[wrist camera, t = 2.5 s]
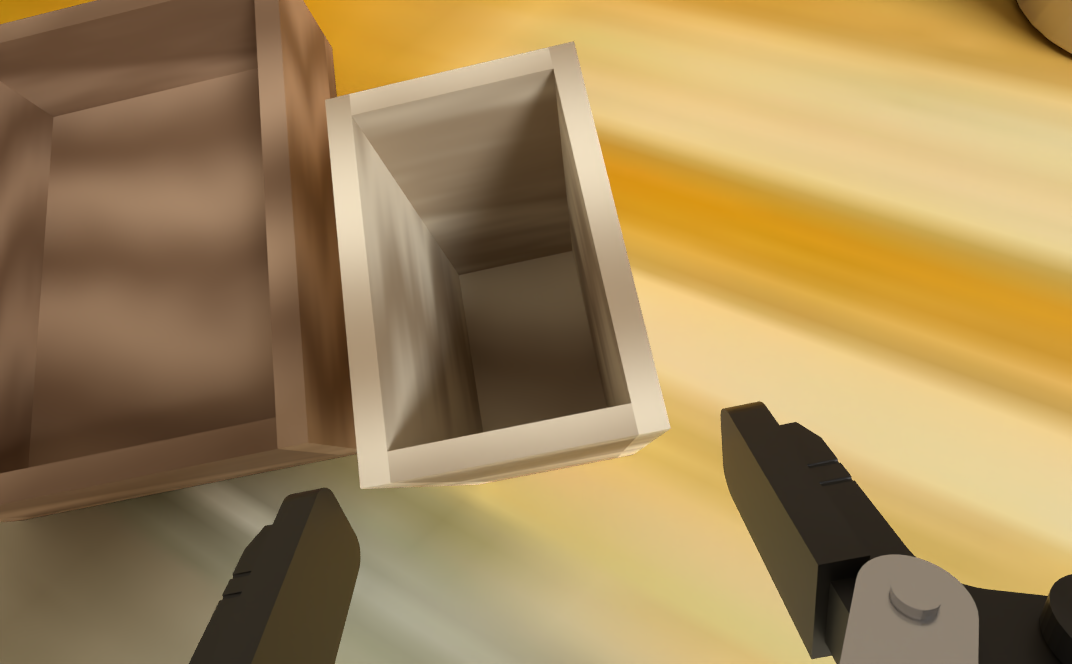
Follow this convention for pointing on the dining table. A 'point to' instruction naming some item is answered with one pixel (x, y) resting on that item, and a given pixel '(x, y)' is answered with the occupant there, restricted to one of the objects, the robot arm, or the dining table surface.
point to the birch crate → (486, 278)
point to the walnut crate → (166, 251)
